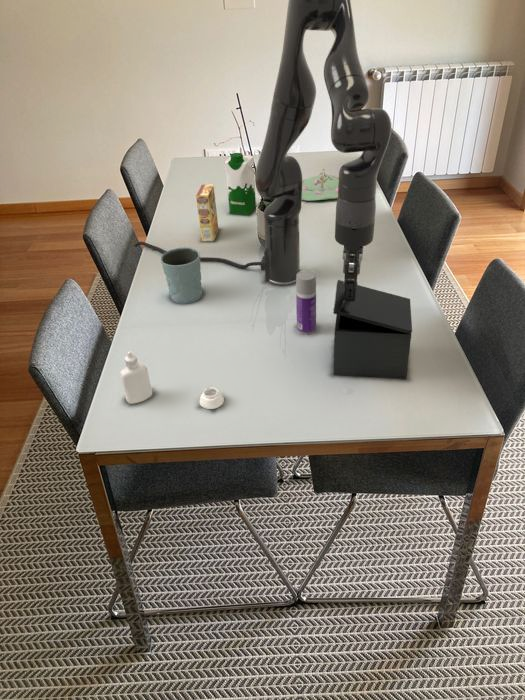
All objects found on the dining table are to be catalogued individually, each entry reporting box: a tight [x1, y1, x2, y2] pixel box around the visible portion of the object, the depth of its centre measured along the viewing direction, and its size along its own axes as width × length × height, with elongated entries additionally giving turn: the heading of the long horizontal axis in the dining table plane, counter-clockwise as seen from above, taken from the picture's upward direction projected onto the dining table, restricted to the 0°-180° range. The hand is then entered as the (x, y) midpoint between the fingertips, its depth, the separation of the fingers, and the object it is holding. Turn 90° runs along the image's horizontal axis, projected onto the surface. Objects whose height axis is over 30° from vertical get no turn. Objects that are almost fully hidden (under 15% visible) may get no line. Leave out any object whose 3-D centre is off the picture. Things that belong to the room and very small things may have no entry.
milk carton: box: [224, 152, 257, 217], centre depth 201 cm, size 9×9×20 cm
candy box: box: [195, 184, 220, 242], centre depth 187 cm, size 9×4×15 cm, turn 174°
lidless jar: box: [199, 386, 225, 410], centre depth 125 cm, size 5×3×5 cm
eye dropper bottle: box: [119, 351, 153, 405], centre depth 125 cm, size 4×6×12 cm
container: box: [295, 270, 317, 335], centre depth 142 cm, size 5×5×15 cm
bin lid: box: [332, 279, 413, 335], centre depth 126 cm, size 16×13×5 cm
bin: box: [332, 314, 412, 380], centre depth 132 cm, size 16×13×12 cm
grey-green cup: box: [160, 246, 203, 305], centre depth 159 cm, size 10×10×12 cm
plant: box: [302, 168, 339, 202], centre depth 216 cm, size 25×21×9 cm
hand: (350, 291), depth 126 cm, fingers closed on bin lid, 6 cm apart
